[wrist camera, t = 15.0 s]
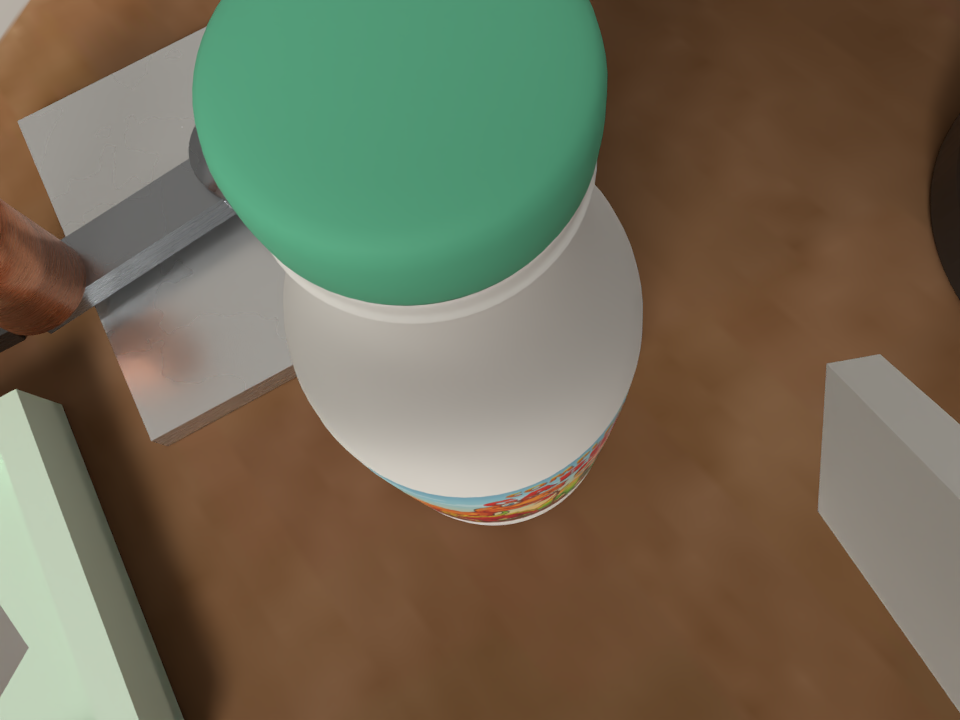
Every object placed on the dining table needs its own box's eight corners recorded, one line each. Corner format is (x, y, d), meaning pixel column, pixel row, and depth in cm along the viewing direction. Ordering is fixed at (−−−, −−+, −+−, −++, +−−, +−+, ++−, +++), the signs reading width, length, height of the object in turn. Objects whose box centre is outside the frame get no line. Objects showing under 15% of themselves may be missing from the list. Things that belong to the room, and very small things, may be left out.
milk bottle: (352, 474, 27) (-108, 243, 8) (441, 286, 29) (246, -289, 9) (553, 564, 26) (602, 555, 6) (633, 362, 27) (867, -128, 8)
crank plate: (372, -32, 33) (365, -57, 31) (545, 242, 29) (545, 226, 27) (-74, 192, 31) (-101, 175, 30) (43, 513, 27) (18, 510, 26)
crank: (283, 94, 29) (199, -62, 22) (342, 175, 28) (274, 38, 21) (-10, 280, 28) (-202, 180, 21) (40, 373, 27) (-145, 300, 20)
